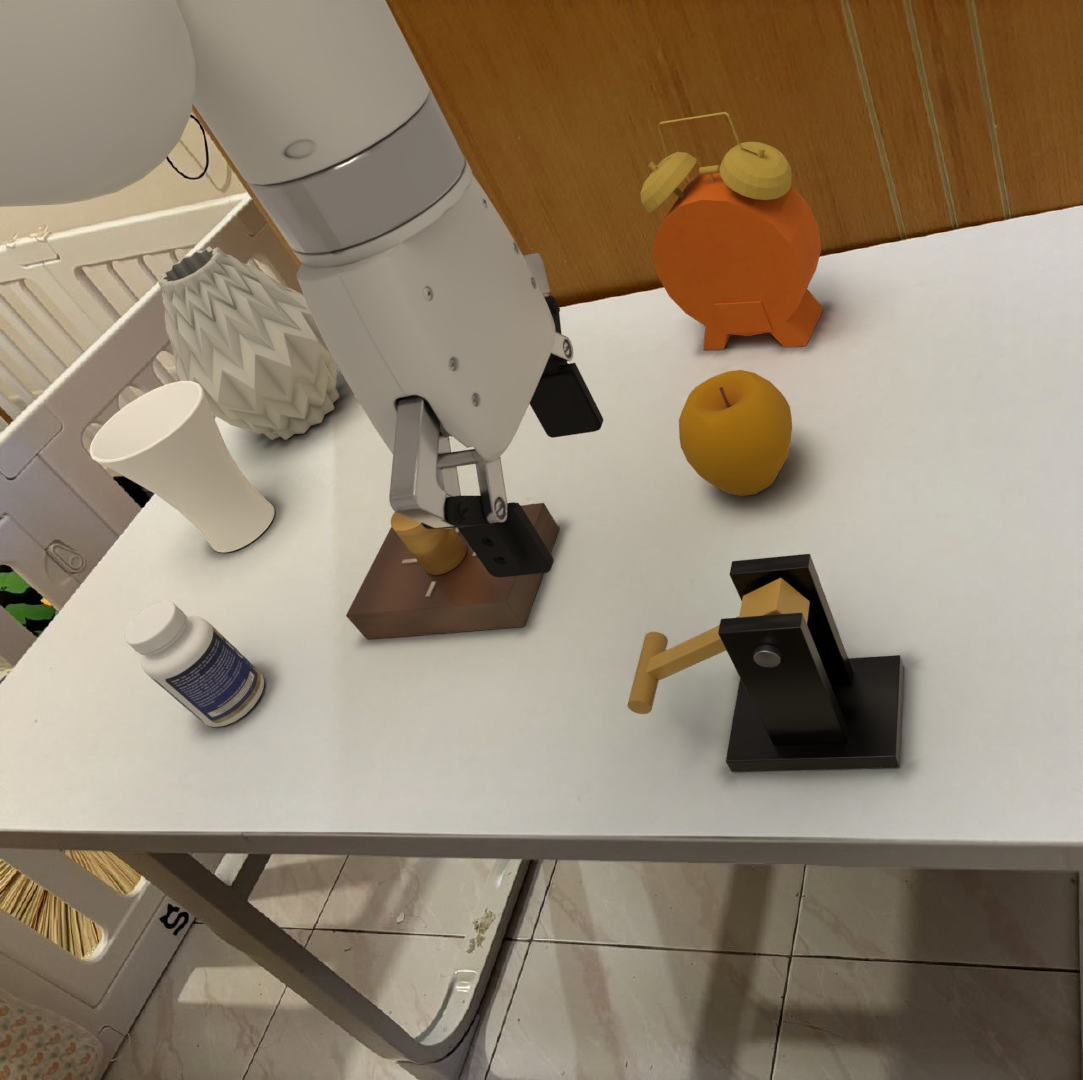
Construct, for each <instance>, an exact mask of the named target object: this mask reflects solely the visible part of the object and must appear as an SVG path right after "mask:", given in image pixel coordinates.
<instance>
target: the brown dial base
mask: <svg viewBox="0 0 1083 1080" xmlns="http://www.w3.org/2000/svg"><path fill="white" fill-rule="evenodd" d="M520 506H521V507H522V508H523V510H524V512H525V513H526V515H527V516H528V518H529V520H530V521H531V523H532V524H533V526H534V528H535V529H536V531H537V532H538V534H539V536H540V537H541V539H542V540H543V542H544V544H545V545H546V547H547V548H548V550H549V552H550V553H551V554H552V550H553V547H554V545H555V541H556V539H557V536H558V533H559V531H560V527H559V526H558V524H557V522H556V520H555V518H554V517H553V515H552V514H551V512H550V510H549V509H548V507H547V506H546V504H545V502H538V503H530V504H522V505H521V504H520ZM454 529H455V530H456V532H457V533H458V534H459V536H460V537H461V539H462V540H463V542H464V543H465V544H466V547H467V552H466V555H465V557H464V559H463V560H462V562H461V563H460V564H459V565H458V566H457V567H455V568H454V569H452V570H451V571H449V572H447V573H444V574H441V575H431V574H428V573H427V572H426V571H425V570H424V569H423V567H422V566H421V565H420V563H419V562H418V561H417V559H416V558H415V557H414V555H413V554H412V553H411V552H410V550H409V549H408V548H407V546H406V545H405V544H404V542H403V541H402V540H401V538H400V537H399V536H398V534H397V533H396V532H395V531H394V529H393V528H392V526H391V525H390V528H389V530H388V533H387V534H386V535H385V538H384V540H383V542H382V544H381V546H380V548H379V550H378V552H377V553H376V556H375V558H374V560H373V561H372V564H371V565H370V567H369V570H368V572H367V573H366V575H365V577H364V579H363V581H362V583H361V585H360V587H359V589H358V591H357V593H356V595H355V596H354V599H353V601H352V602H351V605H350V606H349V608H348V611H347V612H346V615H345V617H346V618H347V619H348V620H349V621H350V623H351V624H352V625H353V626H354V627H355V628H356V629H357V630H358V631H359V633H360V634H361V635H362V636H363V637H364V639H366V640H376V639H389V638H401V637H402V638H403V637H413V636H414V637H415V636H427V635H437V634H438V635H439V634H440V635H441V634H450V633H451V634H452V633H462V632H463V633H464V632H475V631H477V632H478V631H487V630H489V631H490V630H501V629H513V628H515V629H516V628H524V627H525V625H526V623H527V620H528V618H529V614H530V611H531V609H532V606H533V603H534V600H535V598H536V594H537V592H538V589H539V586H540V583H541V581H542V578H543V575H544V573H540V574H530V575H519V576H509V577H494V576H492V575H491V574H489V572H488V571H487V570H486V568H485V567H484V565H483V564H482V562H481V561H480V560H479V558H478V557H477V555H476V554H475V552H474V551H473V550H472V548H471V547H470V545H469V544H468V542H467V541H466V540H465V538H464V537H463V535H462V534H461V532H460V531H459V530H458V528H454Z"/></svg>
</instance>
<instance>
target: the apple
mask: <svg viewBox="0 0 1083 1080" xmlns="http://www.w3.org/2000/svg"><path fill="white" fill-rule="evenodd" d="M678 431H679V433H678V435H679V436H678V439H679V445H680V448H681V451H682V453H683V455H684V457H685V459H686V462H687V463H688V464H689V465H690V466H691V468H692V469H693V470H694V471H695V472H696V474H697V475H699V476H700V477H701V478H703V480H705V481H706V482H707V483H709V484H710V485H712V486H713V487H715V488H717V489H719V490H721V491H723V492H725V493H728V494H731V495H734V496H739V497H745V496H751V495H756V494H758V493H760V492H762V491H763V490H766V489H767V488H768V487H770V486H771V485H772V484H773V483H774V482H775V480H776V478H777V476H778V475H779V473H780V471H781V469H782V468H783V465H784V464H785V462H786V460H787V459H788V457H789V453H790V447H791V442H792V441H791V439H792V434H793V417H792V411H791V406H790V404H789V402H788V401H787V399H786V397H785V396H784V394H783V393H782V392H781V391H780V389H778V388H777V387H776V386H775V384H773V383H772V382H771V381H770V380H768V379H766V378H765V377H762V376H761V375H759V374H758V373H756V372H753V371H749V370H748V371H747V370H743V369H739V370H738V369H736V370H729V371H725V372H723V373H720V374H717V375H714V376H712V377H709V378H708V379H706V380H705V381H703V382H701V383H700V384H698V385H696V386H695V387H694V388H693V389H692V390H691V392H690V393H689V394H688V396H687V399H686V401H685V403H684V405H683V407H682V409H681V412H680V415H679V418H678Z"/></svg>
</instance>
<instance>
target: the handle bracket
mask: <svg viewBox="0 0 1083 1080" xmlns="http://www.w3.org/2000/svg"><path fill="white" fill-rule="evenodd" d="M728 574H729V577H730V580H731V582H732V583H733V585H734V588H735V590H736V593H737V594H738V597H739V599H740V601H741V602H742V599H743V596H744V595H746V594H748V593H750V592H752V591H754V590H756V589H758V588H760V587H762V586H765V585H767V584H769V583H771V582H773V581H775V580H777V579H779V578H782V579H783V580H784V581H786V582H787V583H788V584H789V585H790V586H792V587H793V588H794V589H795V590H797V591H798V592H799V593H800V594H801V595H803V596H804V597H805V598H806V599H807V600H809V602H810V604H809V612H808V620H807V624H806V621H805V619H804V616H803V614H802V613H790V614H777V615H764V616H751V617H738V616H737V617H738V618H736V617H726V618H721V619H720V621H719V625H720V626H719V625H718V626H719V631H718V634H719V636H720V639H721V641H722V643H723V645H724V647H725V649H726V651H725V652H727V655H728V656H729V658H730V661H731V662H732V664H733V667H734V669H735V671H736V673H737V675H738V677H739V682H738V687H737V694H736V700H735V704H734V712H733V716H732V722H731V729H730V733H729V740H728V746H727V751H726V758H725V763H726V765H727V766H728V768H729V770H730V772H732V773H738V772H740V773H741V772H743V773H744V772H777V771H778V772H779V771H782V772H783V771H784V772H785V771H818V770H819V771H820V770H822V771H823V770H856V769H857V770H859V769H862V770H863V769H896V768H897V769H898V768H900V766H901V765H900V763H901V744H902V743H901V742H902V741H901V739H902V719H903V717H902V715H903V697H904V696H903V694H904V693H903V690H904V673H905V672H904V668H905V665H904V663H903V659H902V657H901V655H900V654H898V655H897V654H896V655H895V654H894V655H881V656H863V657H862V656H861V657H849V656H848V653H847V651H846V649H845V646H844V643H843V640H842V637H841V634H840V632H839V629H838V627H837V624H836V621H835V618H834V615H833V613H832V610H831V606H830V605H829V602H828V598H827V596H826V594H825V592H824V589H823V586H822V583H821V580H820V577H819V575H818V572H817V569H816V566H815V564H814V561H813V559H812V556H811V554H810V553H802V554H792V555H783V556H782V555H781V556H772V557H771V556H770V557H761V558H753V559H751V558H749V559H740V560H732V561H731V565H730V570H729V573H728Z"/></svg>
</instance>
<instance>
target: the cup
mask: <svg viewBox="0 0 1083 1080" xmlns="http://www.w3.org/2000/svg"><path fill="white" fill-rule="evenodd" d="M89 455H90V457H91V459H92V460H93V461H94V462H97V463H98V464H100V465H102V466H105V467H106V468H108V469H110V470H111V471H113V472H116V473H117V474H119V475H121V476H123V477H125V478H126V479H127V480H130V481H132V482H133V483H135V484H137V485H139V486H140V487H142V488H144V489H146V490H147V491H149V492H151V493H153V494H155V495H156V496H157V497H159V498H160V499H161V500H163V501H164V502H166V503H167V504H168V505H169V506H170V507H172V508H174V510H177V511H178V512H179V513H180V514H181V515H182V516H183V517H184V518H185V519H186V520H187V521H188V522H190V523H191V524H192V525H193V526H194V527H195V528H196V529H197V530H198V531H199V533H201V535H202V536H203V537H204V539H205V541H206V542H207V543H208V544H209V546H210V547H211V548H212V550H213V551H215V552H217V553H229V552H234V551H237V550H240V549H242V548H244V547H245V546H248V545H249V544H251V543H253V541H255V540H257V539H258V538H259V537H260V536H261V535H262V534H264V532H265V531H266V530H267V529H268V528H269V526H270V525H271V523H272V521H273V520H274V517H275V514H276V513H275V507H274V505H273V504H272V503H270V502H269V501H268V500H267V499H266V497H264V496H263V495H262V494H261V493H260V492H259V491H258V490H257V489H256V488H255V487H253V484H251V483H250V481H249V480H248V479H247V477H246V476H245V475H244V473H243V472H242V471H241V468H240V467H239V466H238V464H237V462H236V461H235V459H234V458H233V456H232V454H231V452H230V450H229V448H228V447H227V445H226V443H225V440H224V438H223V436H222V433H221V430H220V428H219V425H218V424H217V421H216V419H215V415H213V414H212V411H211V409H210V406H209V404H208V401H207V398H206V396H205V393H204V391H203V388H202V387H201V386H200V384H198V383H195V382H192V381H179V382H178V381H175V382H170V383H167V384H164V385H161V386H159V387H156V388H153V389H152V390H150V391H148V392H145V393H144V394H142V395H140V396H138V397H136V399H133V400H132V401H130V402H129V403H127V404H126V405H125V406H123V407H122V408H121V409H119V410H118V411H117V412H115V413H114V414H113V415H112V416H111V417H110V418H109V419H108V420H107V421H106V422H105V423H104V424H103V425H102V426H101V427H100V429H99V430H98V431H97V432H96V433H95V435H94V437H93V439H92V441H91V443H90V446H89Z"/></svg>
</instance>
